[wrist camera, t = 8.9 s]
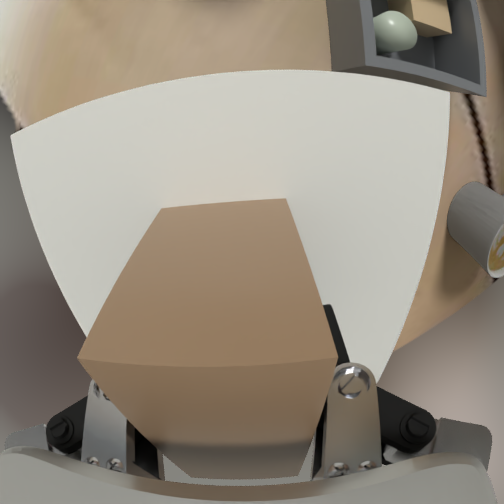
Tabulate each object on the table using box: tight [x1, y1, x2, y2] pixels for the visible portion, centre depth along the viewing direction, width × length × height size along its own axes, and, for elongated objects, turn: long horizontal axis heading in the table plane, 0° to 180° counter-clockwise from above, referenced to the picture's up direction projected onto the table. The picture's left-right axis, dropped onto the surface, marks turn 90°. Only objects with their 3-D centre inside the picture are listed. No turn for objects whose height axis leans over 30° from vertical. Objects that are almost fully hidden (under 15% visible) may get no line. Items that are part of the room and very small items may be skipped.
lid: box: [11, 70, 450, 479], centre depth 9 cm, size 16×16×7 cm
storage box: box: [326, 0, 486, 97], centre depth 16 cm, size 14×14×9 cm
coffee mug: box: [447, 182, 504, 278], centre depth 27 cm, size 13×10×10 cm
